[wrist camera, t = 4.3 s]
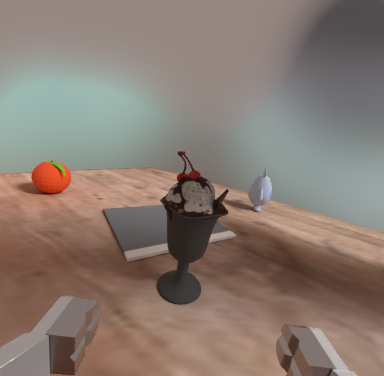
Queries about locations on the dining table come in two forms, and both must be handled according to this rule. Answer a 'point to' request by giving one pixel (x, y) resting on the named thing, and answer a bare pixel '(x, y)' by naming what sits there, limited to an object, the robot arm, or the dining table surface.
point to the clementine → (51, 177)
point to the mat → (147, 230)
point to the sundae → (188, 231)
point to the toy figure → (260, 191)
